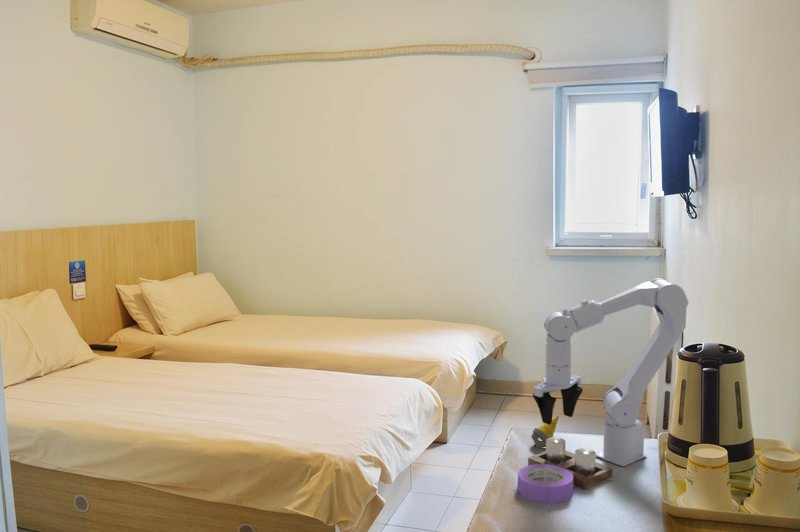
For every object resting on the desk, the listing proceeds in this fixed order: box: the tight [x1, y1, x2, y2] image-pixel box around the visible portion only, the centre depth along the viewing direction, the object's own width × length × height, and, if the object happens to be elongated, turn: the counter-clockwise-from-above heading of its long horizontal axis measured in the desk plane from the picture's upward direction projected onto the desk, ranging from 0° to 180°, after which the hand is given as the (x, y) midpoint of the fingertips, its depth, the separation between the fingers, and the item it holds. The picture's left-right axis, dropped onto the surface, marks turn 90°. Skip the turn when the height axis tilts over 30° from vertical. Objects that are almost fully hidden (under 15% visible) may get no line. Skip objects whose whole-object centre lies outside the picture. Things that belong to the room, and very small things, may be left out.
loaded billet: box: [545, 436, 566, 464], centre depth 164 cm, size 4×4×6 cm
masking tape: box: [517, 464, 574, 504], centre depth 152 cm, size 12×12×4 cm
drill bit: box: [530, 415, 560, 448], centre depth 177 cm, size 5×5×10 cm
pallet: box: [527, 449, 614, 491], centre depth 161 cm, size 10×16×2 cm, turn 37°
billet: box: [574, 447, 597, 477], centre depth 158 cm, size 4×4×6 cm
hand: (557, 419), depth 168 cm, fingers open, 7 cm apart
